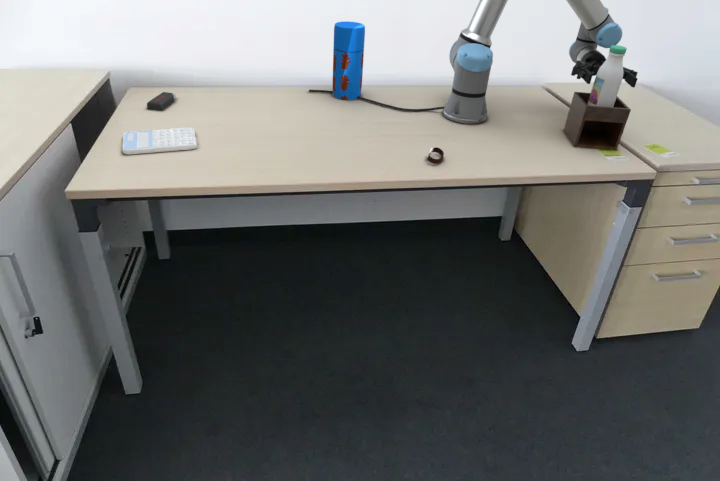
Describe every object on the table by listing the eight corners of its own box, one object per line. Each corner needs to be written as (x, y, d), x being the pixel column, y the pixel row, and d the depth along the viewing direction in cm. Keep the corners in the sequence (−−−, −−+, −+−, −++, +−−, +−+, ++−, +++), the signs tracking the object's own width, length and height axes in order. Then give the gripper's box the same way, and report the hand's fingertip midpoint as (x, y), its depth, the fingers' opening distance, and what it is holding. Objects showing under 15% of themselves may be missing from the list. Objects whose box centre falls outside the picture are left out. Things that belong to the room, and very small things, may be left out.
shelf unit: (574, 146, 170) (586, 106, 163) (563, 130, 182) (574, 91, 174) (616, 150, 170) (631, 109, 162) (603, 133, 181) (616, 94, 174)
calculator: (197, 149, 153) (196, 143, 152) (122, 155, 147) (121, 149, 146) (194, 131, 164) (193, 125, 162) (124, 136, 158) (123, 130, 157)
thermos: (357, 101, 194) (361, 29, 180) (329, 98, 195) (331, 26, 181) (363, 92, 203) (367, 23, 188) (336, 88, 204) (338, 20, 190)
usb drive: (147, 109, 176) (146, 101, 175) (164, 97, 186) (163, 89, 185) (162, 111, 176) (160, 103, 174) (178, 99, 186) (177, 91, 184)
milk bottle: (611, 109, 172) (633, 46, 161) (610, 117, 166) (632, 51, 155) (587, 105, 174) (606, 42, 163) (584, 112, 168) (604, 47, 157)
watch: (430, 153, 160) (432, 142, 158) (445, 156, 159) (447, 145, 157) (423, 163, 154) (424, 151, 152) (439, 166, 153) (440, 155, 151)
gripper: (624, 75, 181) (649, 96, 163) (551, 70, 181) (567, 90, 164) (632, 53, 177) (658, 72, 159) (557, 47, 177) (574, 65, 160)
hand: (612, 81), depth 161 cm, fingers open, 13 cm apart
